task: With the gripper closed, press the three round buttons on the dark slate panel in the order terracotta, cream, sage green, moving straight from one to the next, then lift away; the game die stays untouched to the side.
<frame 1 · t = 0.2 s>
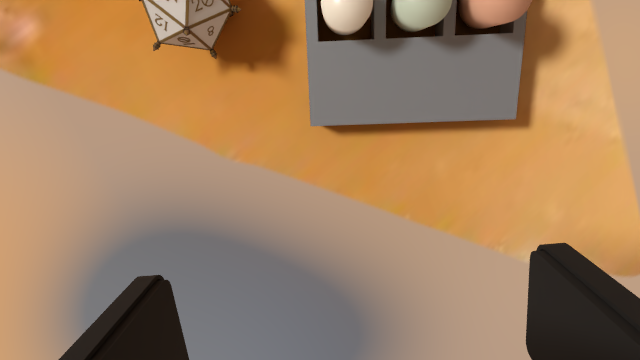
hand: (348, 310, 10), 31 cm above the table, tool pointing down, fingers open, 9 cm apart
panel: (408, 11, 36), on the table
game die: (203, 10, 37), on the table
cream button: (346, 7, 32), point 5 cm above the table, slide at 0.0 cm
sage button: (419, 3, 32), point 4 cm above the table, slide at 0.0 cm
terracotta button: (493, 0, 31), point 5 cm above the table, slide at 0.0 cm
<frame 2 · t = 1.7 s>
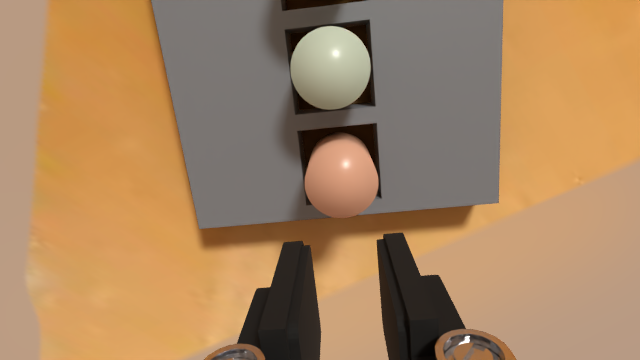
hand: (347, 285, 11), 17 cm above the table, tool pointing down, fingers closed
panel: (331, 68, 26), on the table
sage button: (330, 68, 21), point 4 cm above the table, slide at 0.0 cm
terracotta button: (340, 171, 23), point 5 cm above the table, slide at 0.0 cm
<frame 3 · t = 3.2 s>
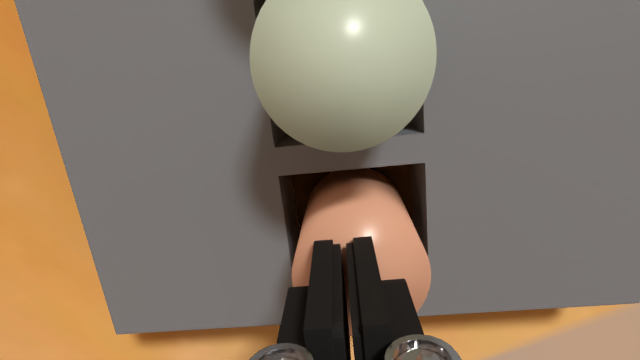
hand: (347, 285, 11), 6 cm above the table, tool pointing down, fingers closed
panel: (341, 62, 15), on the table
sage button: (341, 62, 11), point 4 cm above the table, slide at 0.0 cm
terracotta button: (356, 240, 13), point 3 cm above the table, slide at 1.2 cm, touching gripper
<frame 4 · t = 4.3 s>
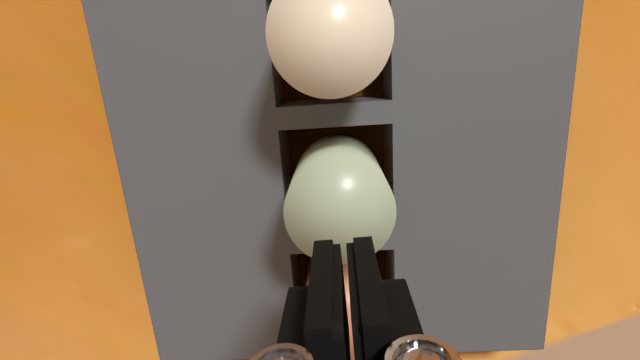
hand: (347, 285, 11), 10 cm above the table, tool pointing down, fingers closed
panel: (337, 165, 20), on the table
cream button: (329, 39, 14), point 4 cm above the table, slide at 0.0 cm
sage button: (338, 192, 16), point 4 cm above the table, slide at 0.0 cm
terracotta button: (344, 295, 19), point 3 cm above the table, slide at 1.7 cm
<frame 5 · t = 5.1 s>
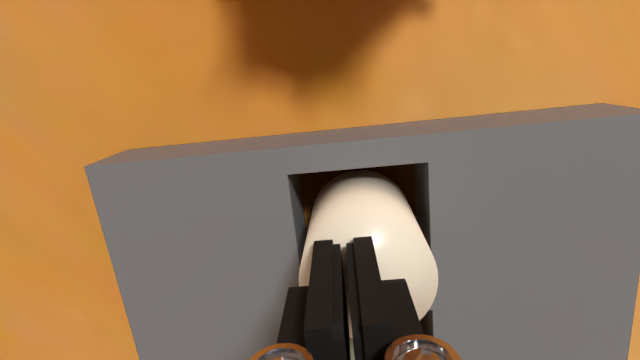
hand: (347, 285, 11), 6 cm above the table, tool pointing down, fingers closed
panel: (368, 319, 19), on the table
cream button: (363, 243, 13), point 4 cm above the table, slide at 0.6 cm, touching gripper
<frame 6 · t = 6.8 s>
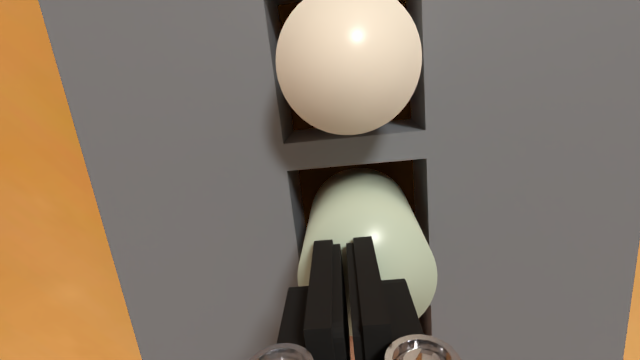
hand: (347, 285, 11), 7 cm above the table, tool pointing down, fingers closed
panel: (358, 201, 17), on the table
cream button: (347, 63, 13), point 3 cm above the table, slide at 1.7 cm
sage button: (362, 241, 13), point 4 cm above the table, slide at 0.5 cm, touching gripper
terracotta button: (371, 357, 16), point 3 cm above the table, slide at 1.7 cm
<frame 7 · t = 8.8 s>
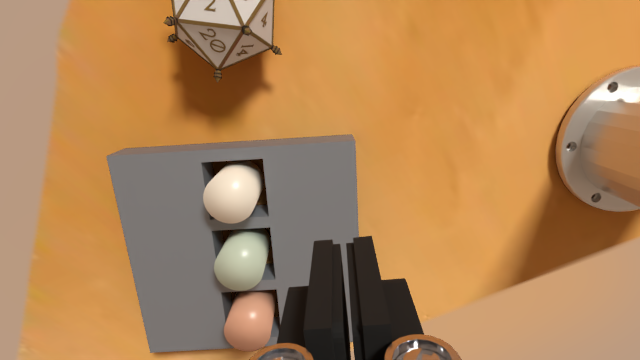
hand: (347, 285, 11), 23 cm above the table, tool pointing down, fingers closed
panel: (250, 240, 36), on the table
game die: (235, 18, 31), on the table
cream button: (236, 189, 32), point 3 cm above the table, slide at 1.7 cm
sage button: (244, 254, 33), point 3 cm above the table, slide at 1.7 cm
terracotta button: (252, 313, 35), point 3 cm above the table, slide at 1.7 cm
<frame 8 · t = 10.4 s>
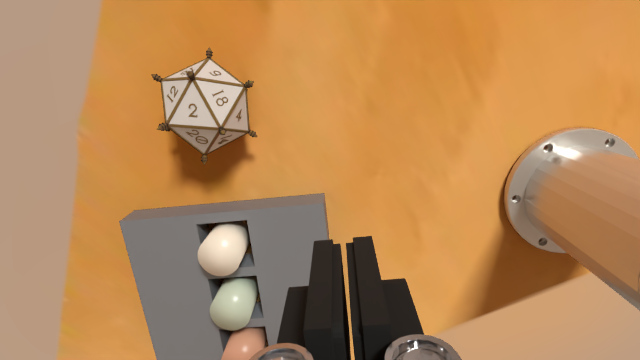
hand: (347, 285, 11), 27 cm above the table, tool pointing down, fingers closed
panel: (242, 283, 42), on the table
game die: (220, 102, 37), on the table
cream button: (226, 244, 38), point 3 cm above the table, slide at 1.7 cm
sage button: (236, 297, 39), point 3 cm above the table, slide at 1.7 cm
terracotta button: (245, 346, 41), point 3 cm above the table, slide at 1.7 cm
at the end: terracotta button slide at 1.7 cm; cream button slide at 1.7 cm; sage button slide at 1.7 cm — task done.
